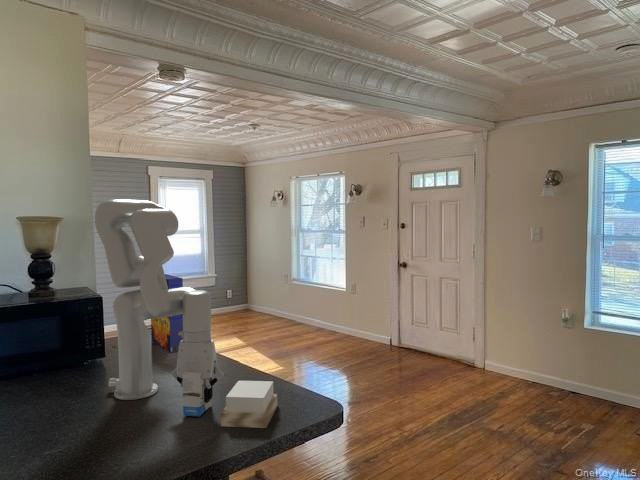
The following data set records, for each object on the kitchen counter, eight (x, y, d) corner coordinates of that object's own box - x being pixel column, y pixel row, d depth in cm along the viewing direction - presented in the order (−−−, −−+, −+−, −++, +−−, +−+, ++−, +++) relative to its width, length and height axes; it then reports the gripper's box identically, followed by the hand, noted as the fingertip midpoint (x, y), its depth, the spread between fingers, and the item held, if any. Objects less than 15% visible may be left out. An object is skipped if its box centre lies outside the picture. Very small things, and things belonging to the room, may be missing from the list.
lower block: (220, 428, 119) (220, 413, 118) (236, 406, 132) (236, 392, 132) (266, 430, 117) (266, 414, 117) (277, 407, 131) (277, 394, 131)
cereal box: (151, 342, 202) (149, 274, 200) (165, 339, 206) (163, 273, 204) (170, 353, 185) (168, 278, 183) (184, 350, 189) (182, 277, 187)
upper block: (226, 412, 119) (225, 396, 119) (238, 394, 131) (238, 380, 131) (264, 413, 118) (263, 397, 118) (273, 395, 130) (273, 381, 130)
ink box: (199, 417, 123) (198, 374, 122) (182, 415, 124) (181, 372, 123) (212, 404, 131) (212, 364, 131) (196, 403, 132) (196, 362, 132)
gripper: (161, 338, 124) (162, 404, 125) (222, 340, 122) (223, 407, 123) (173, 331, 131) (174, 393, 132) (231, 333, 129) (231, 396, 130)
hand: (197, 399), depth 128 cm, fingers closed on ink box, 5 cm apart
